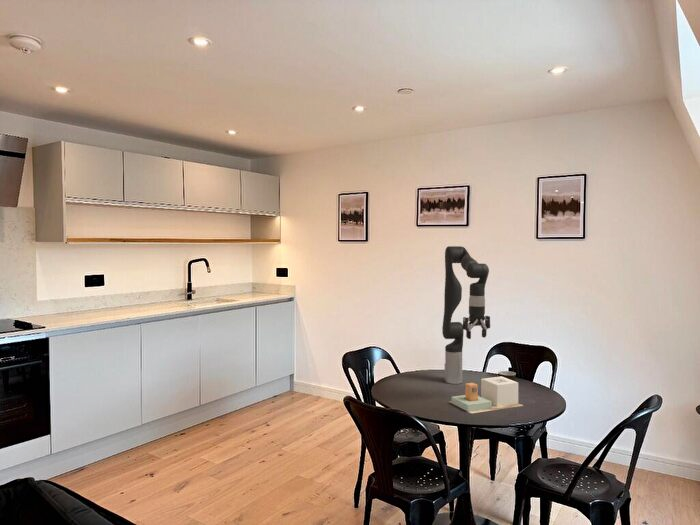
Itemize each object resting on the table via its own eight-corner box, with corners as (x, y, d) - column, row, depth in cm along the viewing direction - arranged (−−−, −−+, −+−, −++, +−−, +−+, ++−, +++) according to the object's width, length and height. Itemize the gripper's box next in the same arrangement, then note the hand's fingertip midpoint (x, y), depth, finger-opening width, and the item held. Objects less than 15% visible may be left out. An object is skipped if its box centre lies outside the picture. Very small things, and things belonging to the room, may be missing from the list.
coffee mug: (515, 390, 249) (515, 371, 249) (516, 395, 241) (516, 375, 241) (491, 389, 253) (492, 370, 252) (492, 393, 244) (492, 374, 244)
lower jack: (451, 403, 227) (451, 396, 226) (474, 399, 231) (474, 393, 231) (467, 411, 214) (467, 405, 214) (491, 408, 219) (491, 401, 219)
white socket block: (481, 399, 232) (481, 378, 232) (501, 396, 237) (501, 376, 236) (497, 406, 221) (497, 385, 221) (518, 403, 225) (518, 382, 225)
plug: (465, 404, 224) (465, 383, 224) (472, 403, 225) (472, 382, 225) (471, 407, 220) (471, 386, 219) (478, 406, 221) (478, 385, 221)
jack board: (448, 403, 229) (448, 401, 229) (498, 396, 240) (498, 394, 239) (471, 415, 212) (471, 413, 212) (523, 407, 223) (523, 405, 223)
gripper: (484, 303, 238) (483, 335, 239) (459, 304, 233) (459, 337, 234) (494, 305, 231) (493, 338, 232) (468, 306, 226) (468, 340, 227)
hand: (476, 337), depth 233 cm, fingers open, 8 cm apart
